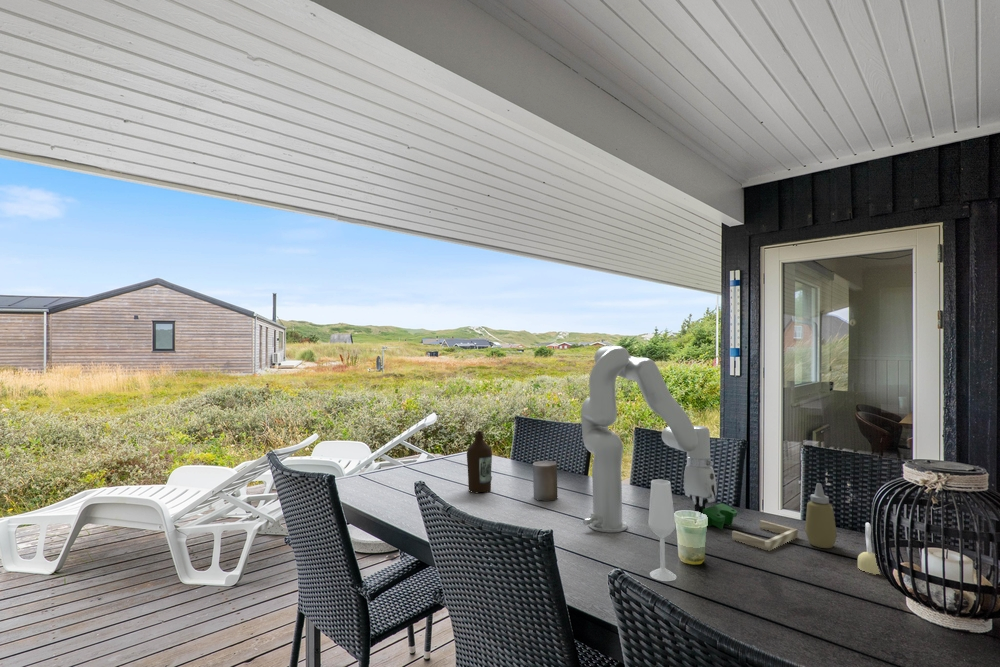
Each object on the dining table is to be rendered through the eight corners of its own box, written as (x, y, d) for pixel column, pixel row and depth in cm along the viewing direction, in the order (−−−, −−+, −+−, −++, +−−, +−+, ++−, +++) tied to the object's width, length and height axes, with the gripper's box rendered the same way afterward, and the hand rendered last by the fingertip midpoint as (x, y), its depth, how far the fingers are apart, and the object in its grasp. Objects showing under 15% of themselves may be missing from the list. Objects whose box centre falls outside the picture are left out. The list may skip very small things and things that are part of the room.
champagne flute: (655, 567, 136) (653, 477, 137) (680, 574, 131) (678, 481, 132) (645, 576, 131) (643, 482, 131) (670, 583, 126) (668, 486, 127)
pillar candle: (561, 496, 203) (560, 458, 204) (550, 502, 195) (549, 463, 196) (540, 493, 209) (539, 456, 209) (528, 499, 200) (527, 461, 201)
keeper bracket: (769, 551, 146) (768, 542, 146) (732, 539, 155) (731, 531, 155) (798, 537, 156) (797, 529, 156) (761, 527, 165) (761, 519, 165)
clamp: (717, 542, 164) (715, 521, 161) (701, 532, 169) (699, 512, 166) (739, 522, 170) (738, 501, 166) (723, 513, 174) (722, 493, 171)
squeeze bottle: (833, 541, 152) (830, 481, 153) (841, 551, 145) (839, 488, 145) (802, 538, 155) (800, 479, 156) (809, 548, 147) (806, 486, 148)
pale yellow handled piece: (883, 576, 129) (881, 528, 129) (858, 571, 132) (856, 525, 132) (881, 567, 134) (879, 521, 134) (856, 563, 137) (855, 518, 137)
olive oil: (462, 490, 214) (461, 431, 215) (480, 485, 221) (480, 428, 222) (478, 495, 206) (478, 433, 207) (497, 490, 214) (496, 430, 215)
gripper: (725, 464, 170) (726, 519, 170) (686, 457, 182) (687, 509, 182) (712, 467, 166) (714, 524, 165) (673, 460, 178) (674, 513, 177)
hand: (700, 516), depth 174 cm, fingers closed
